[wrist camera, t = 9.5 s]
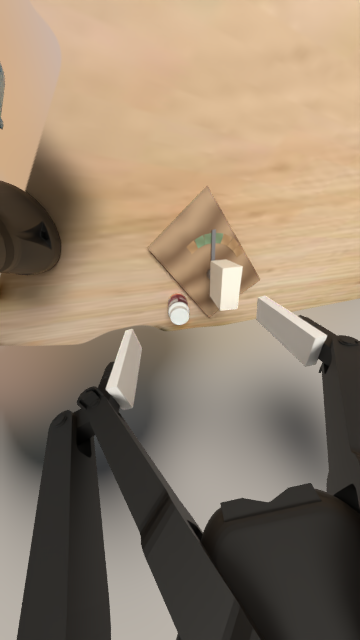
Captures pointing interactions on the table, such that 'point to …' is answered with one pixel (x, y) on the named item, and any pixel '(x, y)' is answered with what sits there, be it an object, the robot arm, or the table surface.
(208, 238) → the board
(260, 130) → the table surface
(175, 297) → the pill bottle
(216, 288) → the white boxy piece
